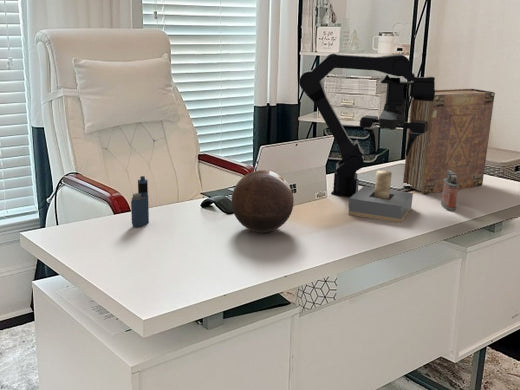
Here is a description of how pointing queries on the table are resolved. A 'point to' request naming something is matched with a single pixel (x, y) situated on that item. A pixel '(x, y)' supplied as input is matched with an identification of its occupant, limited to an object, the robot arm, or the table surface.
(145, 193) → the vaping device
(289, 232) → the table surface
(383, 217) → the grey square-holed block
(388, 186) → the wooden pin
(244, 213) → the wooden sphere
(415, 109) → the book
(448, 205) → the lighter
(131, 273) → the table surface
